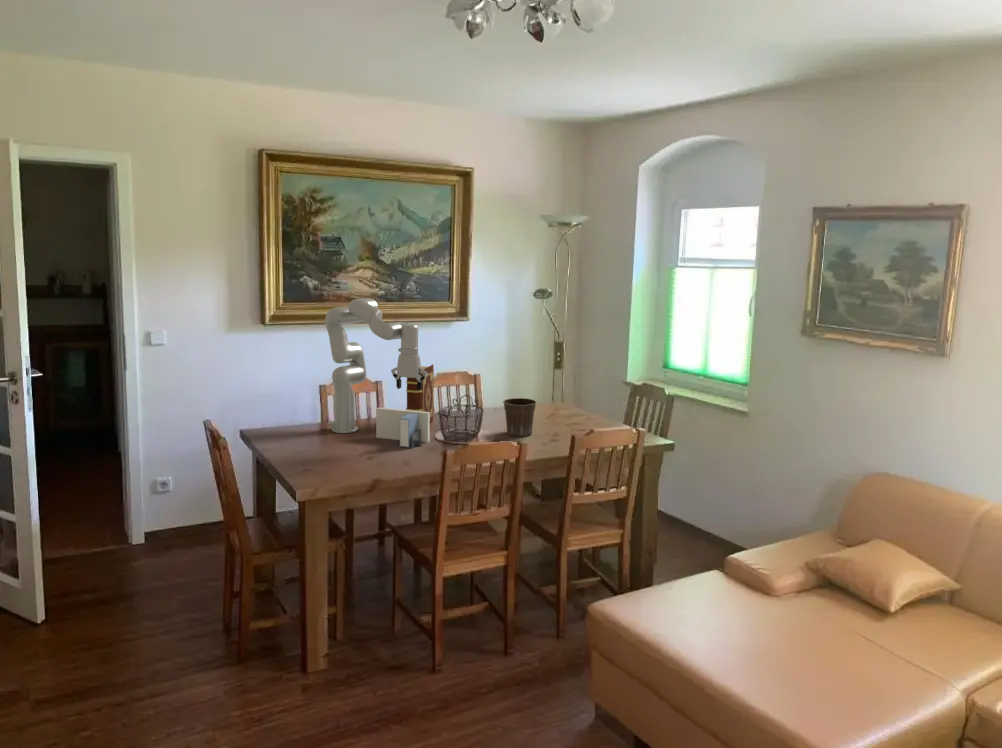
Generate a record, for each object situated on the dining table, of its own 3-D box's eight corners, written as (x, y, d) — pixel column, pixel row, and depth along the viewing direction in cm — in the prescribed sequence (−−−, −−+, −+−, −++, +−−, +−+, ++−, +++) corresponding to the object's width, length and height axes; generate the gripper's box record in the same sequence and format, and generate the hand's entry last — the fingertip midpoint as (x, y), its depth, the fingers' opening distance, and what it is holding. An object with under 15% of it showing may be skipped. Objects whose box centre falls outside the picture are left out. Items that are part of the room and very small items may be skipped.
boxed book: (399, 446, 347) (399, 418, 345) (409, 440, 357) (409, 413, 355) (408, 447, 346) (408, 419, 344) (418, 441, 356) (418, 414, 354)
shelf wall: (376, 437, 363) (375, 408, 360) (378, 436, 366) (378, 407, 363) (427, 442, 356) (427, 413, 353) (430, 441, 359) (430, 411, 356)
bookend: (397, 446, 348) (397, 432, 347) (406, 441, 357) (406, 427, 356) (417, 448, 345) (417, 434, 344) (425, 443, 355) (425, 429, 354)
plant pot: (509, 438, 366) (510, 405, 364) (497, 430, 381) (498, 399, 378) (540, 436, 372) (542, 403, 369) (527, 428, 387) (528, 397, 384)
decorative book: (420, 431, 376) (420, 371, 371) (404, 430, 378) (404, 370, 373) (433, 421, 398) (434, 364, 393) (418, 420, 399) (419, 363, 394)
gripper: (388, 351, 343) (387, 389, 346) (424, 354, 338) (423, 392, 341) (395, 349, 350) (394, 386, 353) (430, 352, 346) (430, 389, 348)
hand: (409, 389), depth 347 cm, fingers open, 9 cm apart
